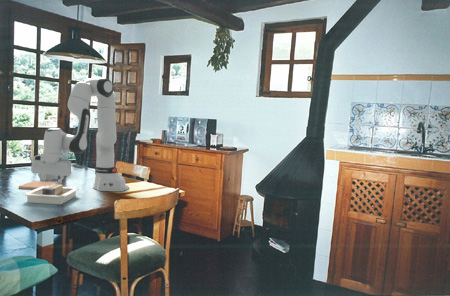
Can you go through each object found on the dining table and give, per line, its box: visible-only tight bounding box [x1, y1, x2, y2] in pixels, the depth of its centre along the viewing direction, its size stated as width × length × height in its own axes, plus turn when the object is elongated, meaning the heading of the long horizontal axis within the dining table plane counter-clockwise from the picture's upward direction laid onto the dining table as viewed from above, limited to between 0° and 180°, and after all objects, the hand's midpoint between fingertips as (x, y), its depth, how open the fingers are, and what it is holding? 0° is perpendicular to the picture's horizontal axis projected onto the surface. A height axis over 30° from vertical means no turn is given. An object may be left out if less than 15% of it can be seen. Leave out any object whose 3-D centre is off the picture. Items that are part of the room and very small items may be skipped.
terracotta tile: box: [18, 180, 58, 191], centre depth 200 cm, size 16×16×2 cm
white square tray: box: [23, 186, 80, 205], centre depth 176 cm, size 22×22×4 cm
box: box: [42, 184, 64, 196], centre depth 176 cm, size 5×12×7 cm, turn 2°
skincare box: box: [42, 174, 58, 182], centre depth 222 cm, size 8×7×16 cm
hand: (50, 182), depth 174 cm, fingers open, 8 cm apart
